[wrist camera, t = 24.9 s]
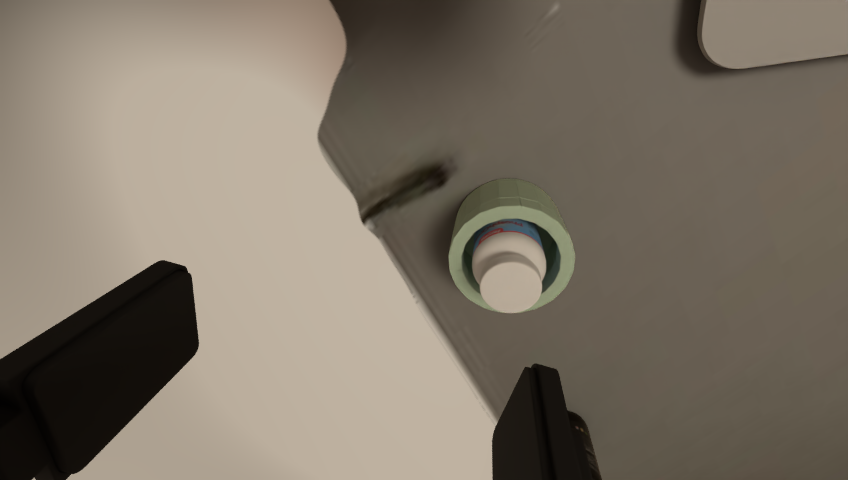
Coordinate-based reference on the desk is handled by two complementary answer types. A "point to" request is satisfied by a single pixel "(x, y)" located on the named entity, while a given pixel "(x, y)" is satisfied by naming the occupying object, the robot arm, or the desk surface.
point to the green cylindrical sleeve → (511, 203)
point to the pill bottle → (509, 264)
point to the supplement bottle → (585, 443)
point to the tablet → (771, 31)
